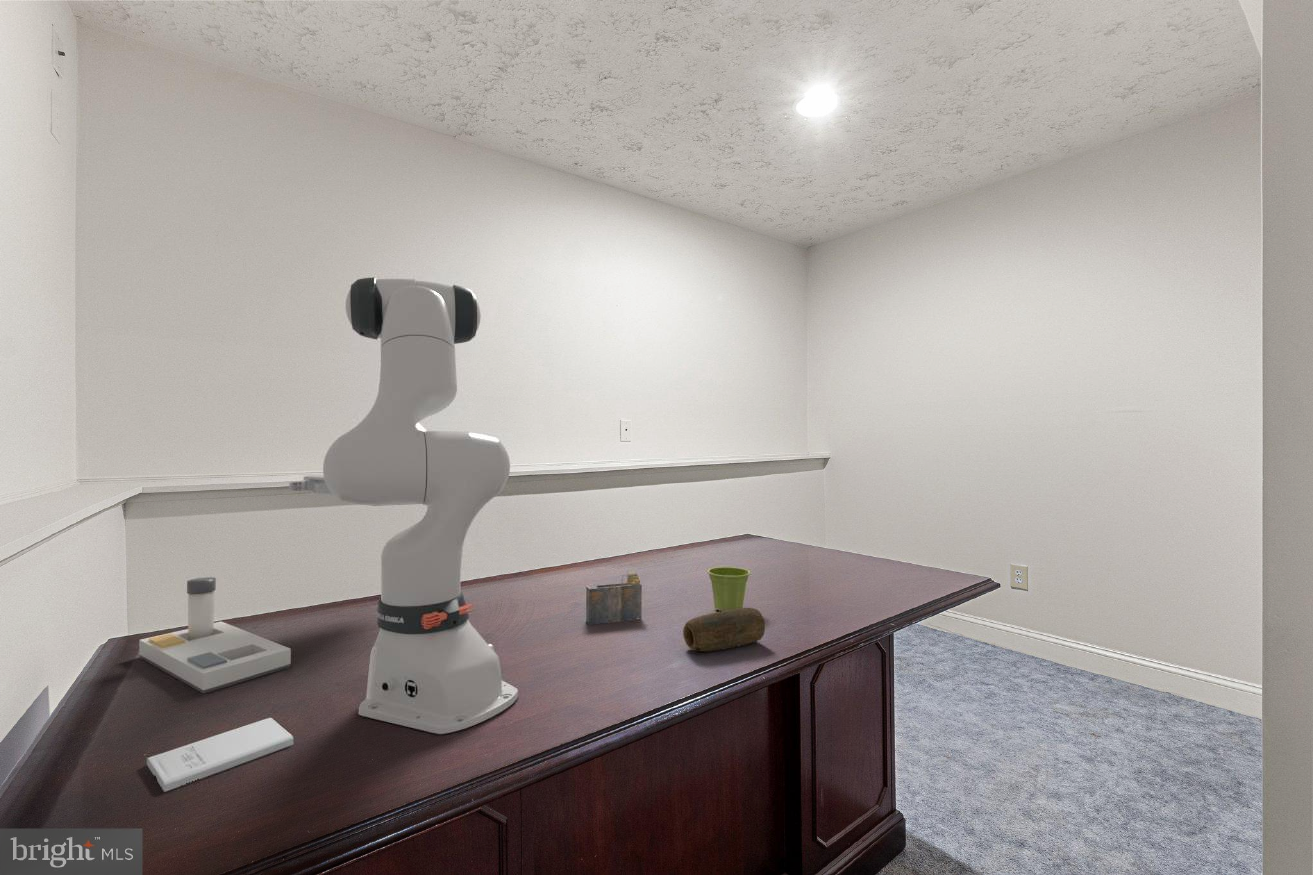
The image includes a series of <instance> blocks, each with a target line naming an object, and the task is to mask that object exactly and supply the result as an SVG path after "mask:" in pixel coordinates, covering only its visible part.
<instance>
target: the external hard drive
mask: <svg viewBox="0 0 1313 875" xmlns="http://www.w3.org/2000/svg"><path fill="white" fill-rule="evenodd" d="M291 746H294V736H293V735H292V734H291V733H290V732H288V731H287V730H286V729H285V728H284V727H282V726H281V725H280V724H279V723H278V722H277V721H276V720H274V719H273V717H268V718H265V719H262V720H258V721H255V722H252V723H249V724H247V725H244V726H240V727H238V728H234V729H231V730H228V731H225V732H222V733H220V734H216V735H212V736H210V737H207V738H204V739H201V740H198V741H195V742H192V743H189V744H186V745H183V746H180V747H177V748H174V749H171V750H168V751H165V752H163V753H162V752H161V753H159V754H155V755H152V756H150V757H147V758H146V766H147V767H148V769H149V771H150V772H151V773H152V775H153V776H154V777H156V781H157V782H158V783H157V784H159V786H160V788H161V787H162V788H161V789H162V791H163V792H164V793H166V792H168V791H171V790H174V789H176V788H179V787H182V786H185V785H187V784H186V783H188V784H190V783H193V782H195V780H196V781H198V780H197V779H199V780H201V779H204V778H206V777H209V776H212V775H214V774H217V773H221V772H224V771H226V770H228V769H232V768H234V767H236V766H239V765H241V764H245V763H247V762H248V763H249V762H250V761H253V760H255V759H258V758H261V757H264V756H266V755H269V754H271V753H274V752H277V751H279V750H283V749H285V748H288V747H291ZM192 781H193V782H192ZM189 782H190V783H189ZM181 785H182V786H181Z"/></svg>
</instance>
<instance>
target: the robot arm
mask: <svg viewBox="0 0 1313 875" xmlns="http://www.w3.org/2000/svg"><path fill="white" fill-rule="evenodd" d="M345 311H346V317H347V319H348V321H349V324H351V327H352V328H351V329H352V330H353V331H354V332H356V333H357V334H358V336H361V337H364V338H368V339H372V340H378V339H380V372H379V384H378V392H377V395H376V399H375V402H374V404H373V405H372V407H371V409H370V410H369V411H368V413H367V414H366V416H365V417H364V418H363V419H362V420H361V421H360V422H359V423H358V424H357V425H356V426H355V427H353V428H352V429H351V430H349V431H347V432H345V433H344V434H342V435H340V436H339V437H338V438H337V439H335V440H334V442H333V443H332V444H331V445H330V447H329V448H328V449H327V452H326V453H325V456H324V460H323V465H322V474H313V475H312V474H309V475H305V476H304V477H303V480H298V481H291V482H289V484H288V485H289V486H288V490H289V491H292V492H299V491H301V492H302V491H303V492H305V493H309V494H310V493H311V494H317V495H318V494H320V495H327V496H328V495H329V496H333V497H335V499H337V500H338V501H339V502H341V503H346V504H347V503H348V504H354V505H355V504H356V505H360V506H361V505H363V506H369V507H370V506H372V507H384V506H385V507H387V506H389V507H390V506H407V505H409V506H410V505H424V506H427V508H426V511H425V514H424V516H423V518H422V519H421V520H419V521H418V522H417V523H415V524H413V525H412V526H409V527H407V528H406V529H404V530H402V531H400V532H398V533H397V534H395V535H394V536H392V537H391V538H390V539H388V541H387V542H386V543H385V545H384V547H383V549H382V552H381V556H380V559H381V561H380V562H381V563H380V567H381V568H380V570H381V571H380V575H381V576H380V581H381V582H380V584H381V585H380V598H379V599H378V601H377V608H376V616H377V618H376V620H377V623H376V624H377V626H378V628H379V631H378V632H379V633H378V634H377V637H376V640H375V642H374V644H373V646H372V649H371V651H370V655H369V665H368V666H369V667H368V675H367V686H366V697H365V699H364V700H363V701H362V702H360V704H359V706H358V715H359V716H361V717H366V718H370V719H374V720H378V721H382V722H387V723H390V724H391V723H392V724H395V725H399V726H403V727H406V728H407V727H408V728H413V729H416V730H420V731H424V732H428V733H432V734H437V735H444V734H449V733H454V732H457V731H461V730H464V729H468V728H470V727H472V726H475V725H477V724H480V723H482V722H484V721H486V720H488V719H491V718H493V717H495V716H496V715H498V714H500V713H501V712H504V710H507V709H508V708H510V707H511V705H513V704H514V703H515V702H516V701H517V699H518V698H519V690H518V688H517V687H515V686H513V685H512V684H510V683H508V682H506V681H504V680H503V679H502V669H501V662H500V658H499V656H498V654H497V653H496V652H495V651H496V650H495V647H494V645H493V644H491V643H487V642H486V641H485V639H484V638H483V637H482V635H481V634H480V633H479V631H477V630H476V628H475V627H474V626H473V625H472V624H471V622H470V621H469V617H470V616H469V613H470V612H473V609H469V608H471V607H472V606H473V605H474V604H473V603H469V604H466V600H465V596H464V593H463V591H461V581H462V580H461V576H462V575H461V572H462V560H463V559H462V558H463V551H464V550H463V549H464V545H465V540H466V537H467V534H468V531H469V529H470V526H471V525H472V523H473V521H474V520H475V519H476V516H477V515H478V514H479V512H481V510H482V509H483V508H484V507H485V506H486V505H487V504H488V503H489V502H490V501H491V500H493V499H494V498H495V497H496V496H498V495H499V494H500V493H501V492H502V490H503V489H504V487H506V484H507V482H508V479H509V476H510V470H511V462H510V461H511V460H510V456H509V454H508V451H507V450H506V448H505V446H504V444H503V442H501V441H500V440H499V439H498V437H494V436H491V435H486V434H482V433H476V432H470V431H443V430H441V431H440V430H439V431H435V430H434V431H431V430H427V429H426V427H424V426H423V424H421V422H420V421H422V420H424V419H426V418H428V417H431V416H433V415H435V414H438V413H440V412H441V411H443V410H445V409H446V408H448V407H449V406H450V405H451V404H452V402H453V401H454V399H455V398H456V395H457V392H458V385H457V381H458V380H457V366H456V365H457V364H456V348H455V345H456V344H462V343H463V344H464V343H468V342H470V341H472V340H473V339H474V338H475V337H476V334H477V331H478V330H479V326H480V323H481V308H480V305H479V303H478V300H477V297H476V295H475V294H474V292H473V291H472V290H471V289H470V288H467V287H465V286H461V285H457V284H453V286H452V285H448V284H443V283H437V282H432V281H423V280H416V279H414V278H413V279H411V278H378V279H377V277H364V278H359V279H357V280H356V281H354V282H353V283H352V284H351V285H350V289H349V290H348V293H347V295H346V299H345Z"/></svg>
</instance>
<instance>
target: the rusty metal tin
mask: <svg viewBox="0 0 1313 875" xmlns="http://www.w3.org/2000/svg"><path fill="white" fill-rule="evenodd" d="M642 587H643V585H642V584H641V580H640V577H639V576H638V573H637V572H635V573H630V574H629V572H627V581H626V582H618V583H609V584H607V583H606V584H597V585H596V587H595V588H594V587H593V588H591V587H590V586H589V585H586V587H585V588H586V593H585V595H586V600H585V601H586V602H585V603H586V604H585V605H586V607H585V608H586V610H585V616H586V618H585V621H586V620H587V621H586V622H587V623H589V624H588V625H595V624H596V623H598V624H603V623H602V622H607V623H614V622H613V621H616V622H619V621H618V620H625V621H629V620H628V619H634V620H638V619H637V618H643V616H642V610H643V609H642V607H643V606H642V603H643V601H642V600H643V599H642V597H643V596H642V595H643V594H642V591H643V590H642V589H643V588H642Z"/></svg>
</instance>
